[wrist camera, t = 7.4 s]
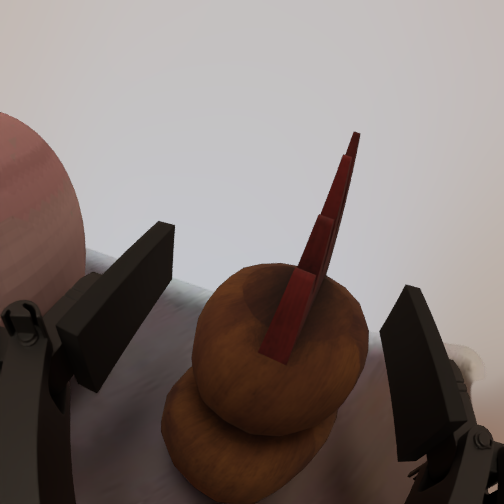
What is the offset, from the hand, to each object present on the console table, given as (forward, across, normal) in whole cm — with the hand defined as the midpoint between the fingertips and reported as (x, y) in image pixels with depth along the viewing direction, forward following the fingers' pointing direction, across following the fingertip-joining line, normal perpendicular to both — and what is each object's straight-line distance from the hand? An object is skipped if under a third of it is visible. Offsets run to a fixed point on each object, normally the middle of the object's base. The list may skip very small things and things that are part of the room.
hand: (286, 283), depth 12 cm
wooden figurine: (-4, 0, -9) cm, 10 cm away
